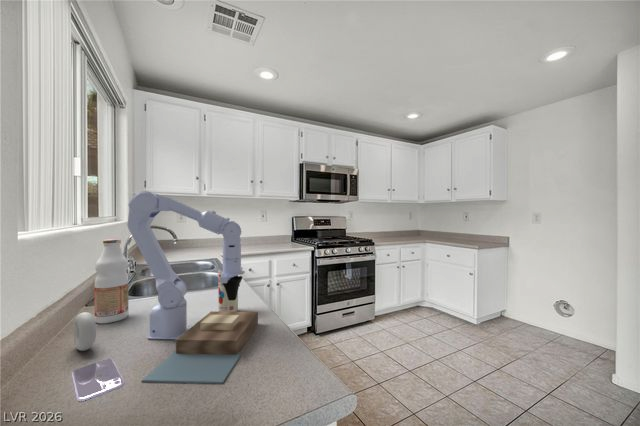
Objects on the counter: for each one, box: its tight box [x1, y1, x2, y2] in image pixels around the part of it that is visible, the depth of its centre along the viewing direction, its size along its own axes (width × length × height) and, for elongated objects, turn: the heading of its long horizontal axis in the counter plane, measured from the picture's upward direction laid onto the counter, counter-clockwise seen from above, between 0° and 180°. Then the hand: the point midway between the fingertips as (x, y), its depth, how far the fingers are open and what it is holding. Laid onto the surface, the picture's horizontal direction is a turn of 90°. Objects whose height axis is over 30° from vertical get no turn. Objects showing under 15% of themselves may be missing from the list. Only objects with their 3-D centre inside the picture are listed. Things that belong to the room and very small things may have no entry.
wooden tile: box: [200, 315, 239, 330], centre depth 77 cm, size 9×6×2 cm, turn 88°
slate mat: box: [141, 351, 242, 385], centre depth 63 cm, size 18×12×1 cm, turn 88°
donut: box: [72, 311, 97, 352], centre depth 72 cm, size 10×4×10 cm, turn 54°
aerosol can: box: [217, 263, 239, 312], centre depth 98 cm, size 7×7×20 cm
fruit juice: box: [94, 238, 129, 324], centre depth 93 cm, size 9×9×28 cm
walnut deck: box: [175, 311, 259, 355], centre depth 78 cm, size 16×20×4 cm
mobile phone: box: [71, 358, 125, 403], centre depth 59 cm, size 8×1×15 cm
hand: (232, 299), depth 86 cm, fingers closed
